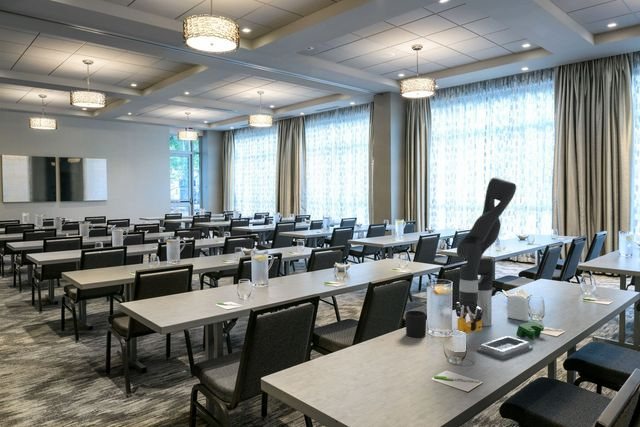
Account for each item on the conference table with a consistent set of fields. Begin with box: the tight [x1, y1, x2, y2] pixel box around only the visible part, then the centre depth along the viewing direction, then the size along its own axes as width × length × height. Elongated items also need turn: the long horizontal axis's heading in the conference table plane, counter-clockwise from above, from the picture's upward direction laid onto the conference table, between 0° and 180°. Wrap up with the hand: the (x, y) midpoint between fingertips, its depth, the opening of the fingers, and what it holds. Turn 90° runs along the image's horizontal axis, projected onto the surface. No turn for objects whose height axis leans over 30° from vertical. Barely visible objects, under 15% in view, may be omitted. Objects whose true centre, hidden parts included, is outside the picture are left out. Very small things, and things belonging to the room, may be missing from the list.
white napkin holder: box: [506, 293, 530, 322], centre depth 230 cm, size 10×4×12 cm, turn 39°
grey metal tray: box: [476, 335, 534, 361], centre depth 186 cm, size 12×20×3 cm, turn 124°
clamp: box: [516, 320, 545, 340], centre depth 203 cm, size 12×6×9 cm, turn 117°
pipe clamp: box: [456, 317, 483, 335], centre depth 196 cm, size 12×4×6 cm, turn 121°
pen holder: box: [404, 310, 427, 339], centre depth 208 cm, size 9×9×10 cm
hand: (468, 328), depth 196 cm, fingers closed on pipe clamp, 4 cm apart
